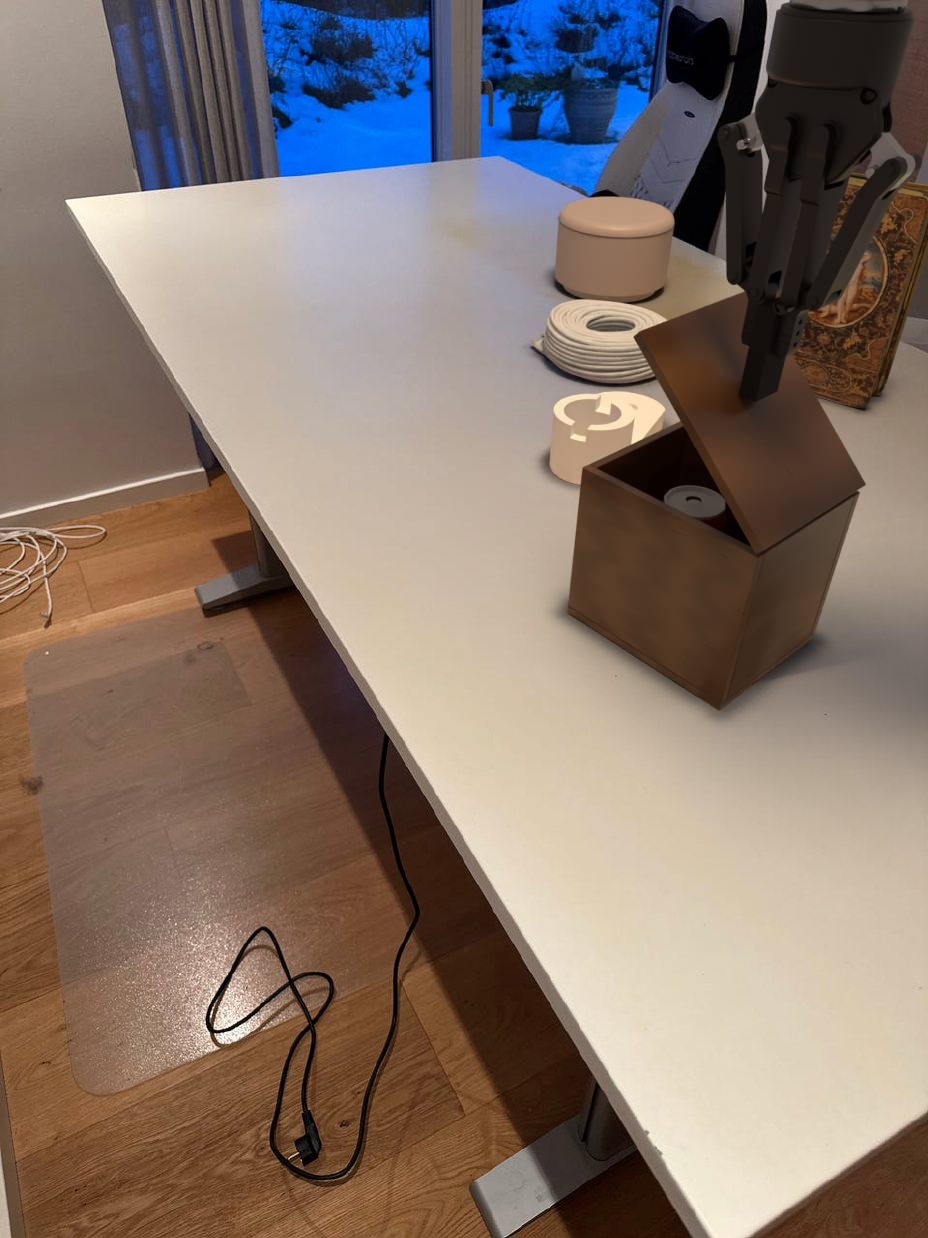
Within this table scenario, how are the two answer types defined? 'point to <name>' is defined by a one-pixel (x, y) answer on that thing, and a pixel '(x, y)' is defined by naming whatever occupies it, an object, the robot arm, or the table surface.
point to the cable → (598, 340)
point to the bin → (693, 572)
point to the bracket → (599, 428)
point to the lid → (749, 424)
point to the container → (613, 248)
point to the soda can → (699, 504)
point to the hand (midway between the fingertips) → (758, 392)
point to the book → (867, 303)
